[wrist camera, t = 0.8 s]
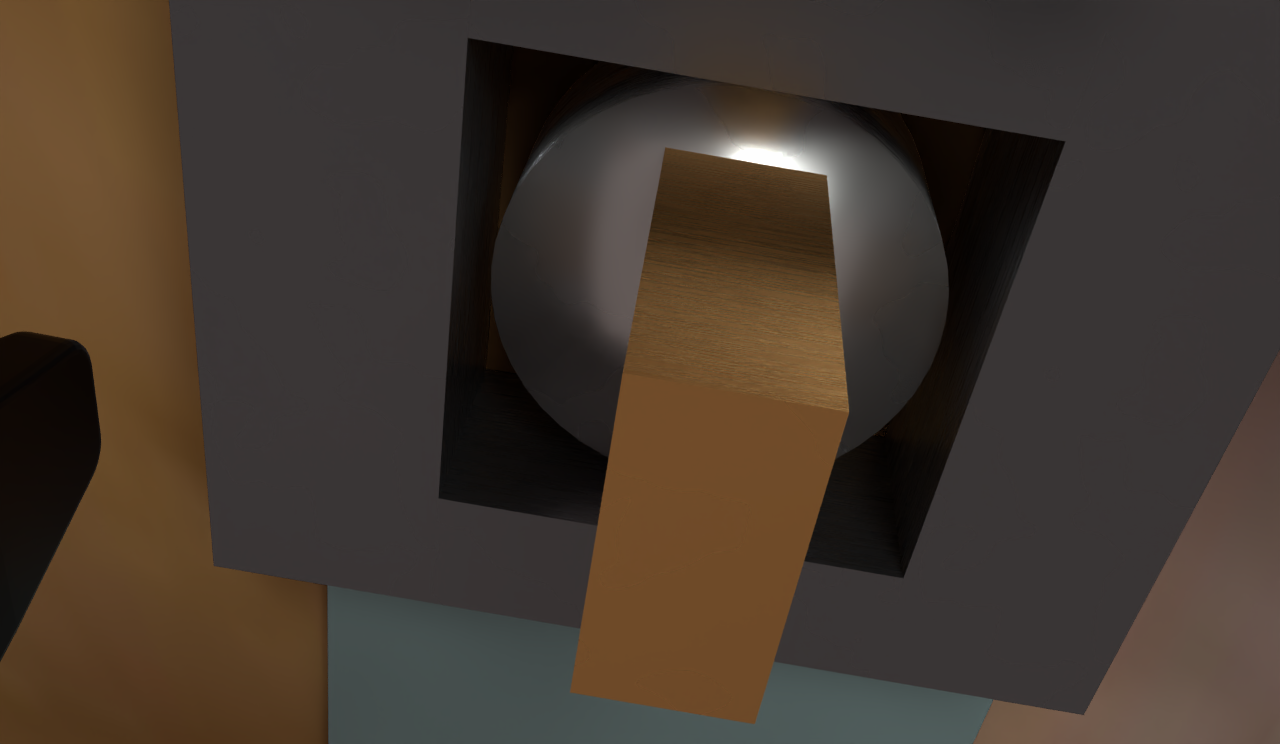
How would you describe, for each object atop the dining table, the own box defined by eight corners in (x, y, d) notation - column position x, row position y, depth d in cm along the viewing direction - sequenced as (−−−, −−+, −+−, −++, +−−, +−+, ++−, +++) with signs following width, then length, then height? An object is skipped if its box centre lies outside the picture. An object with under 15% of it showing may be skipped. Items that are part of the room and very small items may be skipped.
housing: (1332, -74, 18) (1463, 5, 14) (1041, 563, 25) (1083, 714, 21) (268, -259, 17) (151, -223, 14) (288, 434, 25) (213, 565, 21)
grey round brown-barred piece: (980, 62, 19) (1114, 363, 12) (869, 416, 23) (915, 808, 16) (543, -14, 19) (398, 240, 12) (507, 353, 23) (382, 717, 16)
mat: (1026, 597, 25) (1031, 618, 25) (902, 870, 31) (903, 890, 30) (335, 479, 25) (327, 496, 25) (335, 773, 31) (328, 793, 30)
